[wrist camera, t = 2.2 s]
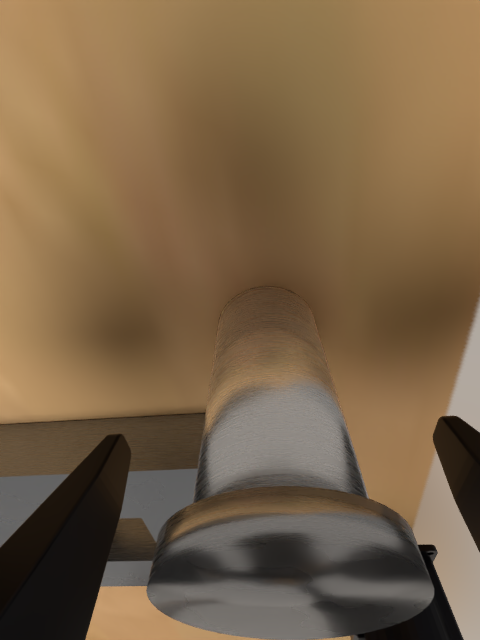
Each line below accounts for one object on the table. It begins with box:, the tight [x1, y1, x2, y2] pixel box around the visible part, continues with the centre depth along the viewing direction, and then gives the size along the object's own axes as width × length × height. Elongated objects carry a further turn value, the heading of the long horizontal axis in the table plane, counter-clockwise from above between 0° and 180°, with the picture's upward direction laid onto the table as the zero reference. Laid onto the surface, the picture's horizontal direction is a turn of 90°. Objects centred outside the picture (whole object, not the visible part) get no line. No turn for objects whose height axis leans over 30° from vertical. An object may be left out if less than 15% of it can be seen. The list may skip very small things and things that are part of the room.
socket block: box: [0, 413, 206, 586], centre depth 19 cm, size 14×14×3 cm
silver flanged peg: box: [147, 287, 434, 640], centre depth 10 cm, size 5×5×9 cm
